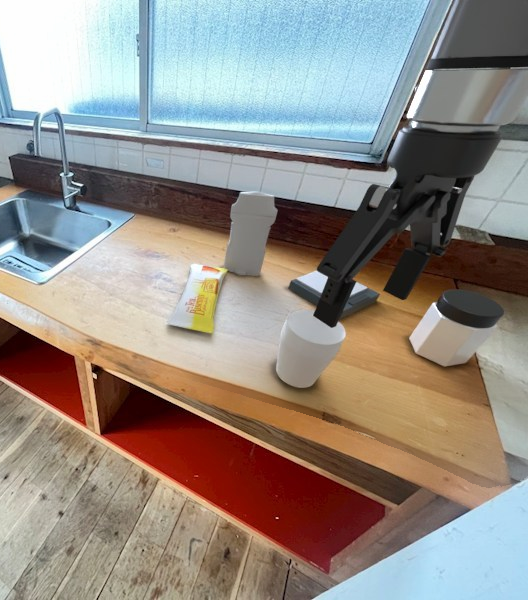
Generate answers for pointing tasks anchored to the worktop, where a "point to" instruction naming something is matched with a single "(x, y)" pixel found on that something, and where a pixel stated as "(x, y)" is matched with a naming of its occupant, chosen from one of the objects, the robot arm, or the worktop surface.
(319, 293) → the scale
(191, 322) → the food package
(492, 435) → the worktop surface
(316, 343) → the cup
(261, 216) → the tall pale column
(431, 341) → the jar
